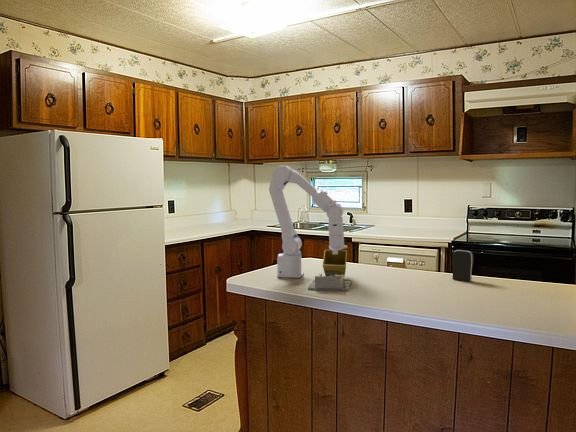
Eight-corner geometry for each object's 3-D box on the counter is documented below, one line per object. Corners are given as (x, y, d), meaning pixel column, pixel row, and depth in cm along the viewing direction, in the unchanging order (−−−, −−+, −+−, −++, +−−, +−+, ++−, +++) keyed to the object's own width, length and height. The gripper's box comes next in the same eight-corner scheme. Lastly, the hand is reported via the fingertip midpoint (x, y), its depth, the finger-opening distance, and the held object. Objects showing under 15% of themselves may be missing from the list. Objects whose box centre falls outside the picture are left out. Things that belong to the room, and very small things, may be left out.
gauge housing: (307, 289, 157) (307, 276, 157) (313, 281, 169) (313, 269, 169) (347, 291, 154) (347, 278, 154) (350, 283, 166) (350, 270, 166)
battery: (473, 280, 169) (474, 250, 168) (470, 282, 166) (471, 251, 165) (455, 277, 173) (455, 248, 172) (451, 279, 170) (452, 250, 169)
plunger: (320, 286, 159) (320, 275, 159) (324, 280, 169) (324, 269, 169) (344, 287, 157) (344, 276, 157) (346, 281, 167) (346, 270, 167)
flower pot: (346, 283, 170) (345, 265, 165) (323, 282, 172) (322, 264, 166) (347, 267, 177) (347, 250, 172) (325, 266, 179) (324, 249, 173)
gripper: (345, 237, 167) (346, 273, 168) (348, 232, 181) (349, 265, 182) (326, 238, 168) (328, 273, 170) (330, 232, 183) (332, 265, 184)
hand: (337, 269), depth 176 cm, fingers closed, pressing on flower pot
